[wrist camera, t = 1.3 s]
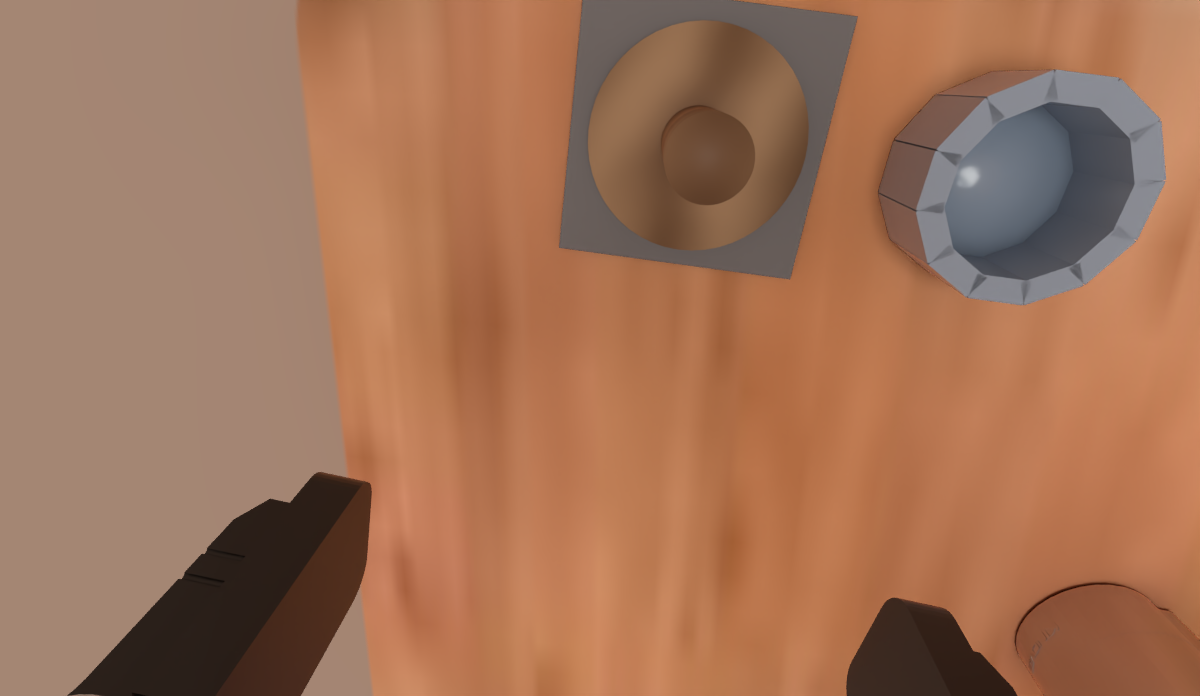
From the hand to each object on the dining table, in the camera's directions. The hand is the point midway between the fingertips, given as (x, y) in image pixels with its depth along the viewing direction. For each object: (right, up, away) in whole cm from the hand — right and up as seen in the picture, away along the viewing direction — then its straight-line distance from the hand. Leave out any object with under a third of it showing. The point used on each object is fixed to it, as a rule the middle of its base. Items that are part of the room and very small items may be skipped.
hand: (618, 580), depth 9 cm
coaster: (+5, +14, +23) cm, 27 cm away
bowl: (+20, +12, +22) cm, 32 cm away
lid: (+5, +14, +22) cm, 27 cm away
